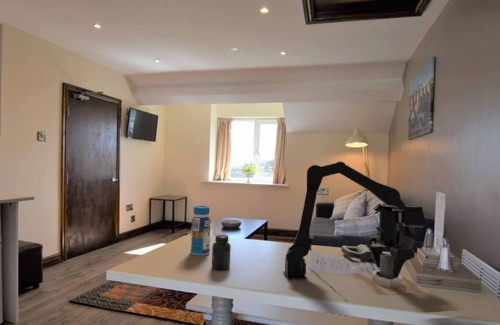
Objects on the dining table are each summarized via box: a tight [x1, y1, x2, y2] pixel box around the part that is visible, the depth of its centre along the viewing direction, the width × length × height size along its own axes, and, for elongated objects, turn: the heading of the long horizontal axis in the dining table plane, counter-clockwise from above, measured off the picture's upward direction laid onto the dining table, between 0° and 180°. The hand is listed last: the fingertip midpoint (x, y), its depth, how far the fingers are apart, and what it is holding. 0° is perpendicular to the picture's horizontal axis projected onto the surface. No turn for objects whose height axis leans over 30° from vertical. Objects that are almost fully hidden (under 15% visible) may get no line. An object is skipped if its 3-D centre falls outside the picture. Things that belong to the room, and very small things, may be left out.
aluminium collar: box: [371, 269, 403, 288], centre depth 103 cm, size 9×9×2 cm
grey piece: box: [340, 244, 385, 264], centre depth 131 cm, size 16×20×5 cm
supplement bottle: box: [211, 234, 232, 272], centre depth 116 cm, size 7×7×12 cm
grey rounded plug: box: [379, 252, 394, 279], centre depth 103 cm, size 4×4×9 cm
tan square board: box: [348, 272, 431, 296], centre depth 103 cm, size 18×18×1 cm
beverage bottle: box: [190, 205, 212, 256], centre depth 134 cm, size 8×8×20 cm
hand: (387, 271), depth 103 cm, fingers open, 9 cm apart
